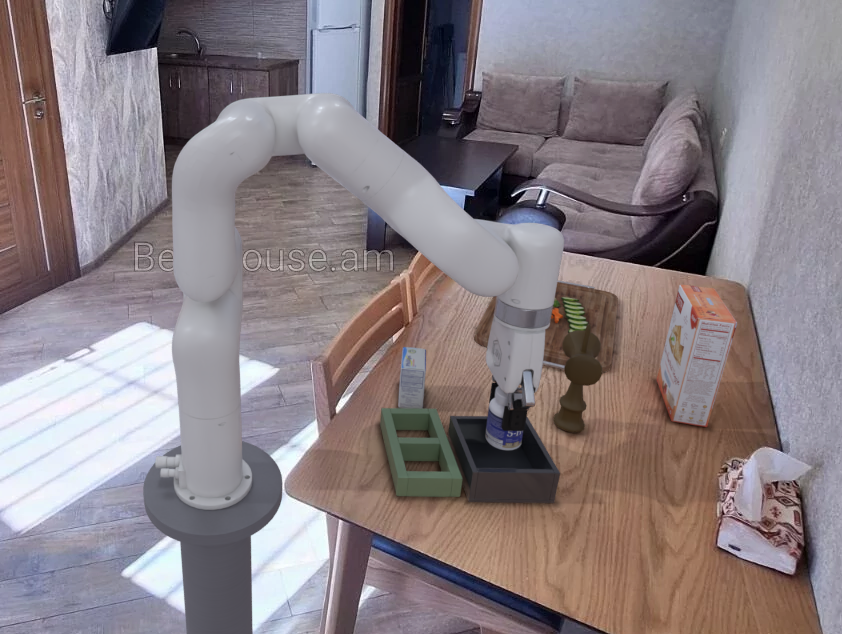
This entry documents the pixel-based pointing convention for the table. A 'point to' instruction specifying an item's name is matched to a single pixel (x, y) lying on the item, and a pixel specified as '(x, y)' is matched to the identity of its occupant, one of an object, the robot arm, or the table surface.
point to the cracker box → (695, 354)
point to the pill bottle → (494, 423)
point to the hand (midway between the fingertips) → (506, 416)
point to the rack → (419, 453)
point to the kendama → (578, 377)
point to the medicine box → (412, 378)
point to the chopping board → (570, 322)
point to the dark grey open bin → (502, 465)
